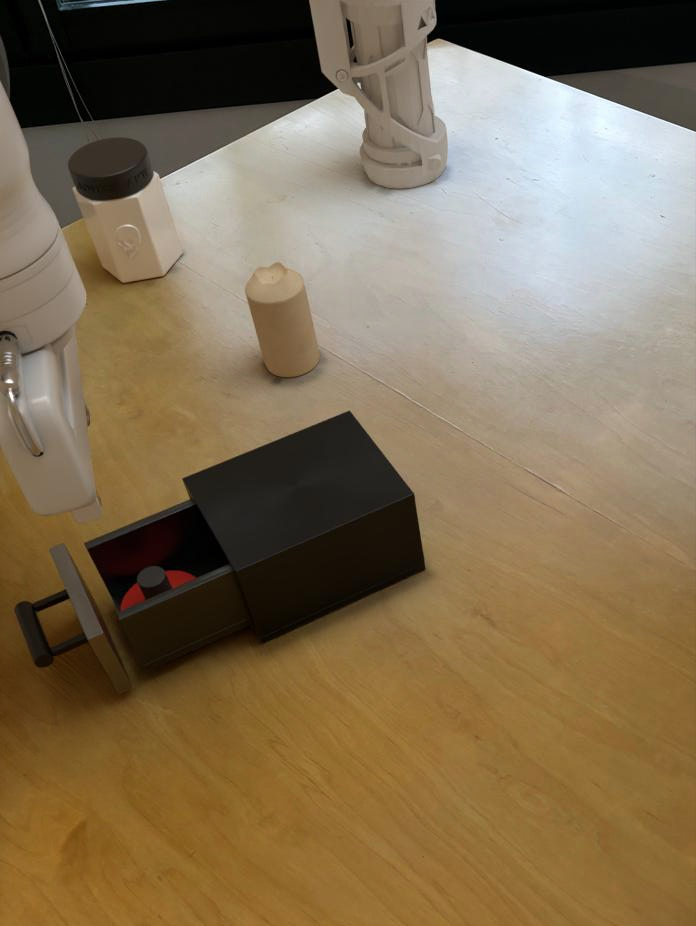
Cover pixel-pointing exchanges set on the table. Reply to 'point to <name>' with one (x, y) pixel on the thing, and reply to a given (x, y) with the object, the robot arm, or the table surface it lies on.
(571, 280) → the table surface
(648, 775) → the table surface
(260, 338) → the candle
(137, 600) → the lid
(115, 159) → the jar
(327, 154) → the table surface
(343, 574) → the cabinet
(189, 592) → the drawer
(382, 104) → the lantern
